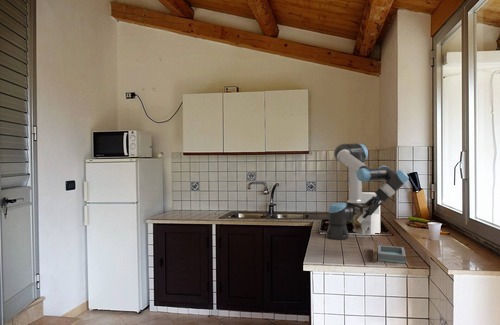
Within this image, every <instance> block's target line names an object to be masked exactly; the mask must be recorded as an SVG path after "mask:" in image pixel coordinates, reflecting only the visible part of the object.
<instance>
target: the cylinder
mask: <svg viewBox="0 0 500 325" xmlns="http://www.w3.org/2000/svg"><path fill="white" fill-rule="evenodd" d="M373 196H374V197H376V196H377V195H376V194H375V192H374V191H373V192H370V191H367V192H366V191H364V192H363V191H362V200H363V201H364V204H365V203H366V202H367V201H368V200H370V199H371V198H372V197H373ZM375 233H379V234H381V205H380V206H379V207H378V208H377V209H376V210H375V212H374V213H373V214H372V215H371V234H370V235H376V234H375Z"/></svg>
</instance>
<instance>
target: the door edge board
mask: <svg viewBox="0 0 500 325" xmlns="http://www.w3.org/2000/svg"><path fill="white" fill-rule="evenodd" d="M378 245H379V244H378V240H376V239H374V240H373V245H372V246H373V247H372V248H373V249H372V262H373V263H376V262H377V263H378Z"/></svg>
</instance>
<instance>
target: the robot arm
mask: <svg viewBox="0 0 500 325" xmlns="http://www.w3.org/2000/svg"><path fill="white" fill-rule="evenodd" d="M368 156H369V151H368V148H367V147H366V145H364V144H363V143H359V142H358V143H340V144H338V145H337V146H336V147H335V148H334V150H333V157H334V158H335V159H336V161H338V163H341V164H344V165H345V166H346V167H347V168H348V172H349V173H348V189H349V191H348V192H349V193H348V194H349V195H348V196H349V197H348V200H346V202H333V203H331V204H329V207H328V228H327V231H326V234H325V236H326V237H327V239H332V240H341V241H342V240H347V239H349V238H350V234H349V230H348V227H347V222H349V221H353V204H364V201H363V200H362V192H363V182H375V181H376V182H378V181H381V182H382V181H384V183H383V184H382V185H381V186H380V188H378V189H377V190H376V191H375V192H374V193H375V194H376V195H377V196H376V197H374V196H373V197H372V198H371V199H370V200H368V201H367V202H366V203H365V204H364V205H368V206H370V207H369V209H368V210H366V211H365V212H364V213H363V214H362V215H361V216H360V217H359V218H358V219H357V220H358V221H359V222H360V223H361V222H362V221H364V220H365V219H366V218H367V217H368V216H369V215H372V214H373V213H374V212H375V210H376V209H377V208H378V207H379V206H380V207H381V205H382V204H383V202H385V203H386V202H387V201H388V200H389V199H390V197H392V196H393V195H395V193H396V192H397V191H398V190H400V189H401V188H402V187H403V186H404V185H405V184H406V183H407V182H408V180H409V176H408V175H407V174H406V172H404V171H403V170H401V169H399V170H397V171H395V170H393V169H392V168H391V167H389V166H386V165H381V166H379V167H369V166H368V165H366V164H365V161H366V160H367V159H368Z"/></svg>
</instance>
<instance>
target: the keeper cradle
mask: <svg viewBox="0 0 500 325" xmlns="http://www.w3.org/2000/svg"><path fill="white" fill-rule="evenodd" d="M386 261H387V262H388V263H398V264H406V263H407V256H406V251H405V247H403V246H390V245H380V244H378V250H377V262H386ZM387 262H386V263H387Z"/></svg>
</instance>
